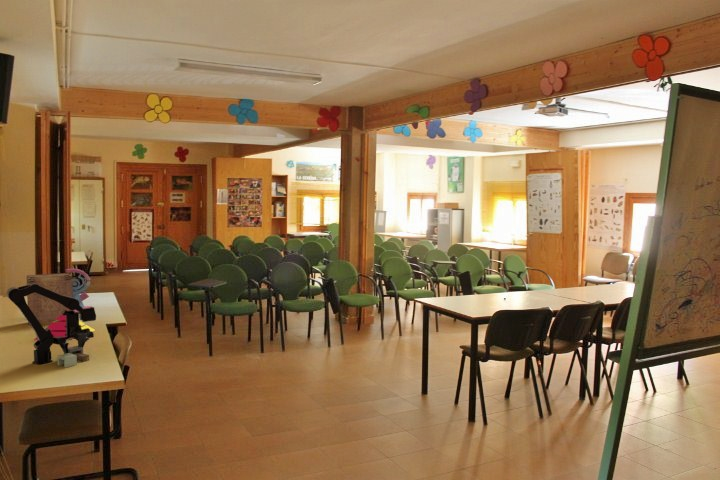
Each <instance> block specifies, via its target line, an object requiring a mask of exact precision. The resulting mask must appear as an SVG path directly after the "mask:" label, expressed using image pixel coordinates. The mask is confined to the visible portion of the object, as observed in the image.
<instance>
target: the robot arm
mask: <svg viewBox="0 0 720 480" xmlns="http://www.w3.org/2000/svg"><path fill="white" fill-rule="evenodd" d="M34 292H35V293H38V294H40V295H42V296H45V297H47V298H49V299H52V300H54V301H57V302H59V303H60V304H62V305H63V306H65V307H66V308H68V309H70V310H77V311H79V312H74V311H66V310H64V311H63V312H62V313H61V314H62V315H63V316H64V315H66V325H65V328H66V334H65V336H67V337H62V336H58V337H54V335H53V334H52V333H51V331H50V329H48V328H47V327H46V328H45V327H44V326H43V324H40V322H39V321H38V319H37V318H36V317H35V315H34V314H33V312H32V311H31V309H30V308H29V306H28V303H27V301H26V298H25V297H27V295H29V294H32V293H34ZM5 294H6V298H7V299H9V300H10V301H11V302H12V303H13V304H14V305H15V306H17V308H18V309H19V310H20V312H21V314H22V316H24V318H25V319H26V320H27V323H28V322H29V323H30V325H29V326H30V327H31V328H32V329H33V331H34V334H35V336H36V337H37V338H38V340H35V342H34V343H33V347H34V350H33V361H32V362H31V363H33V364H35V365H44V364H48V363H52V362H53V360H52V351H51V346H52V345H59V347H60V348H61V349H62V351H63V354H64V353H65V354H67V353H68V347H69V344H70V343H69V342H68V341H72V339H76V341H77V346H81V347H83V348H84V346H85V344H86V342H88V341H89V340H90V339H91V338H94V337H95V334H94V331H90V329H89V328H86V329H81V325H79V321H81V322H83V323H85V322H94V321H95V322H96V320H97V314H96V310H95V307H94V306H92V307H90V308H82V307H81V306H80V305H79V301H78V300H77V299H75V298H73V297H69V296H65V295H60V294H58V293H56V292H53V291H51V290H48V289H46V288H44V287H41V286H39V285H38V284H36V283H32V284H29V285H27V284H26V285H22V286H18V287H16V286H15V287H10V288H8V289H7V290H6V293H5Z"/></svg>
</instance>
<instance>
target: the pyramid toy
mask: <svg viewBox="0 0 720 480" xmlns="http://www.w3.org/2000/svg"><path fill="white" fill-rule="evenodd" d="M65 325H66V315H64V316H63V315H62V314H61V315H60V316H59V317H58V318H57V319H56V321H54V322H53V323H49V325H48V326H47V327H46V328H48V329H50V331H51V333H52V334H53V335H54V337H58V336H62V337H67V336H65V334H66V328H65ZM79 325H81V329H86V328H89V329H90V331H92V332H94V331H95V329H94V328H93V327H91V326H89V325H87V324H86V323H85V322H83V321H82V320H79ZM37 340H38V338H37V336H36V337H35V338H34V339H33V341H37Z"/></svg>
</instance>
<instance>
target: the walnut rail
mask: <svg viewBox="0 0 720 480" xmlns="http://www.w3.org/2000/svg"><path fill="white" fill-rule="evenodd" d="M72 354H74V355H77V361H80V362H82V363H83V362H87V361H90V354H86V353H84V352H83V353H79V352H75V353H72Z"/></svg>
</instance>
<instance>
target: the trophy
mask: <svg viewBox="0 0 720 480" xmlns="http://www.w3.org/2000/svg"><path fill="white" fill-rule="evenodd" d="M65 273H73V276H74V277H75V274H76V273H77V274H79V275H78V276H77V278H78V279H77V278H72V293H73V298H75V299H77V300H78V301H79V305H80V306H81V307H82V308H90V307H93V306H92V305H87V306H85V305H84V303H83V301H85V300H86V299H87V298H89V297H90V295H89V294H87V292H86V290H87V289H88V287H90V285H91V281H90V280H92V279H91V278H90V276H89V275H88V273H86V272H85V271H84V270H81V269H78V268H67V269H65ZM82 276H83V277H82ZM79 279H80V280H81V281H82V283H80V281H79ZM85 280H86V281H87V282H86V283H85ZM84 284H85V285H84ZM73 311H74V312H79V311H77V310H73Z"/></svg>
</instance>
